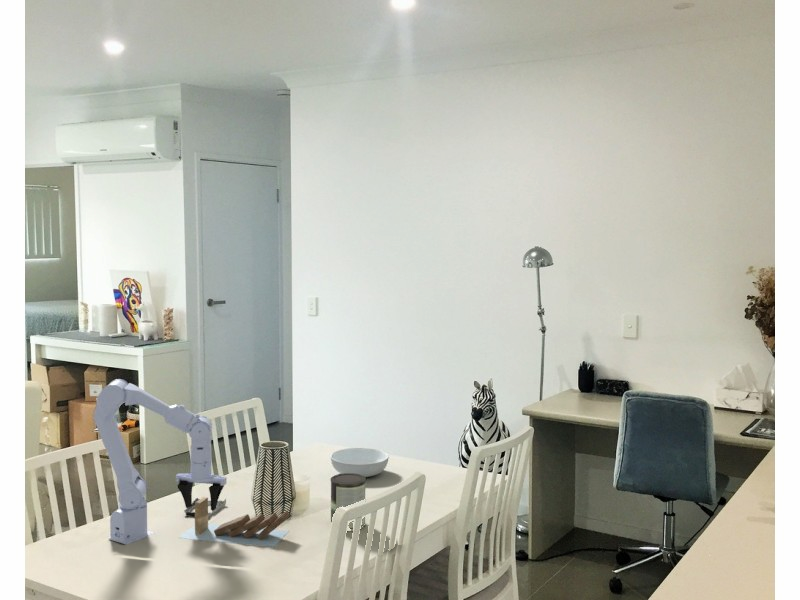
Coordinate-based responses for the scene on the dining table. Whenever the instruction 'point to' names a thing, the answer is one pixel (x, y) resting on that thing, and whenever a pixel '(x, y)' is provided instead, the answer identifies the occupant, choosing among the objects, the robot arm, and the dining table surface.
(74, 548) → the dining table surface
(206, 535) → the board
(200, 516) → the oak domino
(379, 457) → the serving bowl
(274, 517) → the domino
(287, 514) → the domino
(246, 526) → the domino
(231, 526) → the domino
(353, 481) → the coffee can
